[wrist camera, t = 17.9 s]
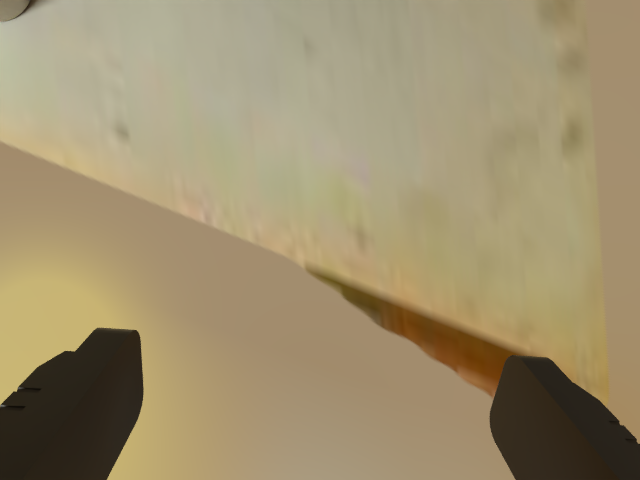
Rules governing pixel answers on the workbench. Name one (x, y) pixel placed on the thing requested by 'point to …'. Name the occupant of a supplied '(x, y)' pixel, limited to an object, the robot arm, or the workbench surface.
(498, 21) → the workbench surface
